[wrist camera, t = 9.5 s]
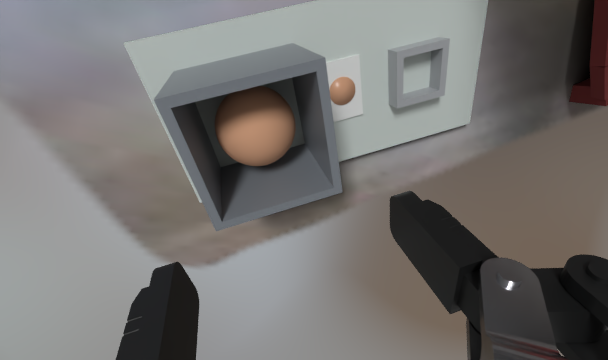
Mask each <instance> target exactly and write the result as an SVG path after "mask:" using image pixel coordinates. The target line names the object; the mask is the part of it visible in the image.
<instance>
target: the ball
mask: <svg viewBox="0 0 608 360" xmlns="http://www.w3.org/2000/svg"><path fill="white" fill-rule="evenodd" d="M295 130H296V125H295V118H294V114H293V112H292V109H291V107H290V105H289V104H288V102H287V101H286V100H285V99H284V98H283V97H282V96H281V95H280V94H279V93H277V92H276V91H274V90H272V89H270V88H268V87H264V86H256V87H252V88H248V89H245V90H241V91H237V92H233V93H229V94H228V95H227V96H226V97H225V98H224V99H223V101H222V102H221V104H220V105H219V107H218V110H217V113H216V116H215V132H216V136H217V140H218V142H219V144H220V145H221V147H222V149H223V150H224V151H225V152H226V153H227V154H228V155H229V156H230V157H231V158H233V159H234V160H235V161H237V162H239V163H242V164H245V165H249V166H264V165H268V164H271V163H273V162H275V161H277V160H278V159H280V158H281V157H282V156H283V155H284V154H285V153H286V152H287V151H288V150H289V148H290V146H291V145H292V142H293V139H294V136H295Z"/></svg>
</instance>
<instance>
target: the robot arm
mask: <svg viewBox="0 0 608 360" xmlns="http://www.w3.org/2000/svg"><path fill="white" fill-rule="evenodd" d="M390 228H391V233H392V235H393V237H394V239H395V241H396V242H397V243H398V245H399V246H400V247H401V249H402V250H403V252H404V253H405V254H406V256H407V257H408V258H409V260H410V261H411V262H412V264H413V265H414V266H415V268H416V269H417V270H418V272H419V273H420V274H421V276H422V277H423V278H424V280H425V281H426V282H427V284H428V285H429V287H430V288H431V289H432V290H433V292H434V293H435V295H436V296H437V297H438V299H439V300H440V301H441V303H442V304H443V305H444V307H445V308H446V309H447V311H448V312H449V313H450V314H452V313H455V312H457V311H460V310H462V312H463V313H464V314H465V315H466V317H467V321H466V324H467V325H466V327H467V357H468V360H608V260H607V259H604V258H601V257H597V256H592V255H576V256H573V257H571V258H570V259H569V260H568V261H567V263H566V264H565V266H564V268H541V269H529V268H528V267H526V266H525V265H523V264H522V263H520V262H517V261H515V260H512V259H508V258H499V257H497V256H496V255H495V254H494V253H493V252H491V251H490V250H489V249H488V248H487V247H486V246H485V245H484V244H483V243H482V242H481V241H480V240H478V239H477V238H476V237H475V236H474V235H473V234H472V233H471V232H470V231H469V230H467V229H466V228H465V227H464V226H463V225H461V224H460V222H458V220H456V219H455V218H454V217H452V215H451V214H450V213H449V212H447V210H445V209H444V208H443V207H442V206H441V205H438V204H436V203H434V202H432V201H430V200H425V201H422V200H421V199H420V198H419V197H418V196H417V195H416V194H415V193H413V192H412V191H407V192H404V193H401V194H398V195H394V196H392V197H391V198H390ZM198 314H199V297H198V293H197V290H196V288H195V286H194V284H193V283H192V281H191V280H190V278H189V276H188V275H187V273H186V272H185V270H184V268H183V267H182V265H181V264H180V263H179V262H175V263H172V264H168V265H165V266H162V267H159V268H156V269H155V270H154V271H153V273H152V277H151V281H150V286H149V287H146V288H143V289H141V291H140V292H139V294H138V295H137V297H136V298H135V300H134V301H133V303H132V305H131V309H130V312H129V315H128V319H127V321H128V323H126V326H125V330H124V336H123V337H122V340H121V343H120V347H119V350H118V354H117V357H116V360H196V348H197V332H198V316H199V315H198ZM557 349H558V350H559V351H560V352H561V353H562V354H563V355H564V356H565V357H563V356H561V355H560V354H559V352H558V350H557Z"/></svg>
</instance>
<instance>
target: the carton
mask: <svg viewBox="0 0 608 360" xmlns="http://www.w3.org/2000/svg"><path fill="white" fill-rule="evenodd" d="M569 102H576V103H585V104H593V105H601V106H607V105H608V0H595V3H594V16H593V29H592V42H591V55H590V78H589V79H587V80H584V81H582V82H580V83H577V84H575V85H573V88H572V92H571V97H570V101H569Z"/></svg>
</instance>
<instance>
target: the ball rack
mask: <svg viewBox="0 0 608 360" xmlns="http://www.w3.org/2000/svg"><path fill="white" fill-rule="evenodd" d="M487 6H488V0H315V1H311V2H306V3H302V4H297V5H293V6H288V7H283V8H279V9H274V10H270V11H265V12H261V13H256V14H252V15H247V16H243V17H238V18H233V19H229V20H224V21H220V22H215V23H211V24H206V25H202V26H197V27H193V28H188V29H183V30H179V31H174V32H170V33H165V34H161V35H156V36H152V37H147V38H143V39H138V40H133V41H129V42H125V43H123V44H124V46H125V48H126V50H127V52H128V54H129V56H130V58H131V60H132V62H133V64H134V67H135V69H136V71H137V73H138V75H139V77H140V79H141V81H142V83H143V85H144V87H145V89H146V91H147V94H148V96H149V98H150V100H151V102H152V104H153V106H154V108H155V110H156V112H157V114H158V116H159V118H160V121H161V123H162V125H163V127H164V129H165V131H166V133H167V135H168V137H169V139H170V141H171V143H172V145H173V148H174V150H175V152H176V154H177V156H178V158H179V160H180V162H181V164H182V166H183V168H184V170H185V172H186V175H187V177H188V179H189V181H190V183H191V185H192V187H193V189H194V191H195V193H196V195H197V197H198V199H199V202H200V203H201V202H202V203H203V205H204V207H205V209H206V211H207V213H208V215H209V217H210V219H211V222H212V224H213V226H214V228H215V230H216V231H219V230H222V229H225V228H228V227H232V226H235V225H238V224H241V223H245V222H248V221H251V220H254V219H258V218H261V217H264V216H267V215H271V214H274V213H277V212H280V211H283V210H287V209H290V208H293V207H296V206H300V205H303V204H306V203H309V202H313V201H316V200H319V199H322V198H326V197H329V196H332V195H335V194H339V193H342V184H341V176H340V168H339V162H340V161H344V160H347V159H351V158H354V157H357V156H361V155H364V154H367V153H371V152H374V151H378V150H381V149H384V148H388V147H391V146H395V145H398V144H401V143H405V142H408V141H412V140H415V139H418V138H422V137H425V136H429V135H432V134H435V133H439V132H442V131H446V130H449V129H452V128H456V127H459V126H463V125H466V124H469V123H470V119H471V112H472V105H473V99H474V92H475V86H476V79H477V72H478V66H479V59H480V52H481V46H482V39H483V33H484V26H485V19H486V13H487ZM256 86H264V87H268V88H270V89H272V90H274V91H276V92H277V93H279V94H280V95H281V96H282V97H283V98H284V99H285V100H286V101H287V102H288V104H289V105H290V107H291V109H292V112H293V114H294V118H295V125H296V130H295V136H294V139H293V142H292V145H291V146H290V148H289V150H288V151H287V152H286V153H285V154H284V155H283V156H282V157H281V158H280V159H278V160H277V161H275V162H273V163H271V164H268V165H264V166H249V165H245V164H242V163H239V162H237V161H235V160H234V159H233V158H231V157H230V156H229V155H228V154H227V153H226V152H225V151H224V150H223V149H222V147H221V145H220V144H219V142H218V140H217V136H216V132H215V116H216V113H217V110H218V107H219V105H220V104H221V102H222V101H223V99H224V98H225V97H226V96H227V95H228V94H229V93H233V92H237V91H241V90H245V89H248V88H252V87H256Z"/></svg>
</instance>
